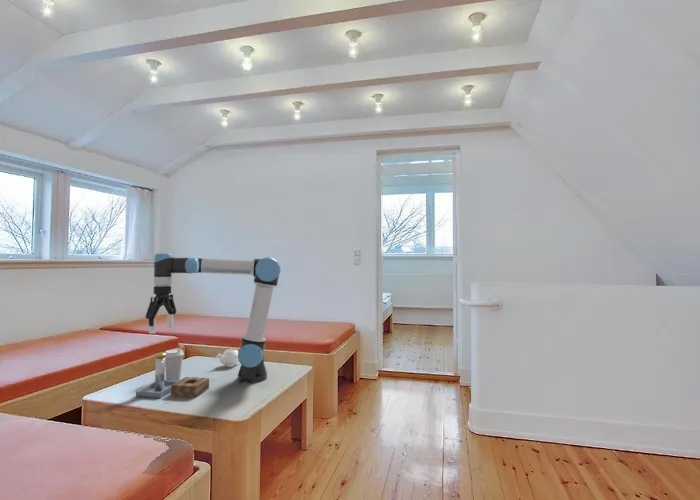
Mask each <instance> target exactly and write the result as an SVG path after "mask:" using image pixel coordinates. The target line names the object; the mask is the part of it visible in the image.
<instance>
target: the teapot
mask: <svg viewBox="0 0 700 500" xmlns="http://www.w3.org/2000/svg"><path fill="white" fill-rule="evenodd" d="M238 352H239V350H237V349H236V348H228V349H226V350H225V351H224V352H223V353H218V354H217V356H216V357H215V359H218V358H219V361H220V363H221V364H223V365H224V366H226V367H227V368H232V367H235V365H236V363H238V362H239V360H238Z"/></svg>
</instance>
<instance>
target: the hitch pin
mask: <svg viewBox="0 0 700 500" xmlns="http://www.w3.org/2000/svg"><path fill="white" fill-rule="evenodd" d="M165 356H167V353H165V352H157V353H155V354H154V357H155V373H154V374H155V375H154V382H155V391H156V392H159V391H163V390H164V384H165V380H166V370H165Z"/></svg>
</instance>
